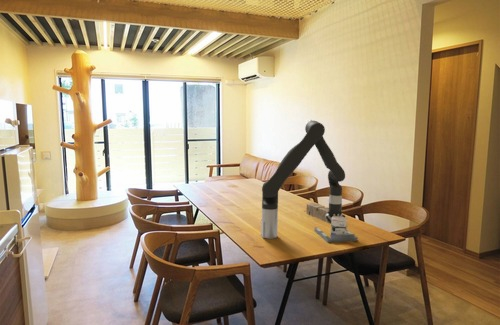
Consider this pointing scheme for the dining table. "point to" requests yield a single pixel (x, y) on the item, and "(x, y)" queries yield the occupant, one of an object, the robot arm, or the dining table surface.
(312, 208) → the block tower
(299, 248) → the dining table surface
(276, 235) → the robot arm
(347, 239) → the channel
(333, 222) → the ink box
